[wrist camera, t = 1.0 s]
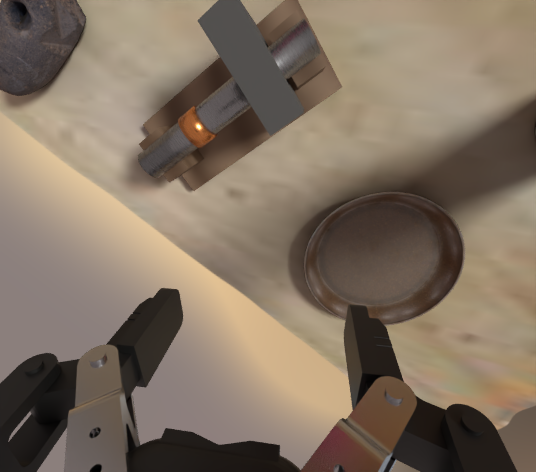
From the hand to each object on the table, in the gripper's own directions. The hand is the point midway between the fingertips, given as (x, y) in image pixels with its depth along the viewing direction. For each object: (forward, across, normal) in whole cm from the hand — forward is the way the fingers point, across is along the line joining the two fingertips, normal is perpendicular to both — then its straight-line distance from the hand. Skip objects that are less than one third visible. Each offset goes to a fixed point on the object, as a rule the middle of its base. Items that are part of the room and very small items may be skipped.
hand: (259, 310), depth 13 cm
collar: (+23, +3, -11) cm, 26 cm away
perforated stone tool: (+27, +29, -15) cm, 42 cm away
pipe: (+20, +7, -8) cm, 23 cm away
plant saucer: (+28, -12, +12) cm, 32 cm away
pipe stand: (+27, +7, -8) cm, 29 cm away
